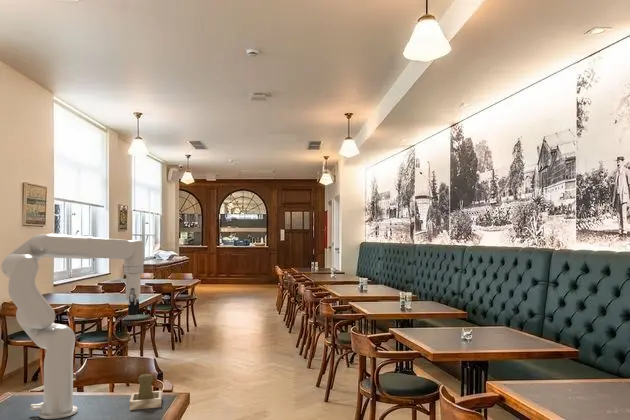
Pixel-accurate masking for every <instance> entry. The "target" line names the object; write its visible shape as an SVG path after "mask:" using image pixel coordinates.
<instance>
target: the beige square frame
mask: <svg viewBox="0 0 630 420" xmlns="http://www.w3.org/2000/svg"><path fill="white" fill-rule="evenodd" d="M152 392H153V399H144V400H138V395H139V392H134V393H131V396H130V400H129V410H130V411H133V410H135V411H136V410H145V409H155V408H162V403H163V402H162V401H163V394H162V393H163V391H162V390H155V391H153V390H152Z"/></svg>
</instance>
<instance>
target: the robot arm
mask: <svg viewBox="0 0 630 420" xmlns="http://www.w3.org/2000/svg"><path fill="white" fill-rule="evenodd" d="M42 258H53V259H56V258H57V259H74V260H75V259H76V260H77V259H80V260H91V259H92V260H93V259H110V260H123V275H124V276H126V277H125V278H126V279H125V297H124V298H125V300H127V301H128V305H127V309H128V310H127V311H128V312H127V313H128V316H137V314H138V312H140V296H141V285H142V284H141V275H144V242H143V241H142V240H140V239H133V240H132V239H131V240H127V239H118V238H104V237H103V238H102V237H94V236H84V235H74V234H73V235H69V234H59V233H57V234H56V233H40V234H36V235H34V236H32V237H31V238H29V239H28V240H26V241H25V242H24V243H22V244H21V245H20V246H19V247H17V248H15V249H14V250H13V251H12V252H10V253H9V254H8V255H7V256H5V258H3V260H2V262H1V264H0V265H1V266H0V269H1V272H2V274H3V275H5V276H6V277H8V285H7V289H8V290H7V291H8V292H7V293H8V295H9V298H10V300H11V301H12V302H13V304H14V305H15V307H16V308H17V309H16V311H15V317H16V321H17V323H18V324H19V326H20V327H21V329H23V331H24V332H25V333H26V335H27V336H28V337H29V338H30V339H31V340H32V342H33V343H34V344H35V345H36V346H37V347H39V348H41V349H42V350H43V349H44V350H45V351H46V352H45V356H44V359H43V361H44V362H43V402H40V403H31V404H30V409H29V410H30V411H32V412H36V411H39V412H38V417H39V418H41V419H44V420H56V419H62V418H63V419H64V418H68V417H70V416H72V415H75V414H76V413H77V412H78V409H79V408H78V407H77V406H76V405H74V351H75V344H76V334H75V332H74V331H73V329H72V328H71V327H70V326H68V325H65V324H61V323H55V321H56V312H55V310H54V308H53V307H52V306H51V304H50V303H49V302H48V301H47V300H46V298H45V297H44V296H43V295H42V293H41V292H40V289H38V287H37V285H36V278H37V275H38V271H39V267H40V266H39V265H40V264H39V261H40V260H42Z"/></svg>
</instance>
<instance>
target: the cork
mask: <svg viewBox="0 0 630 420" xmlns="http://www.w3.org/2000/svg"><path fill="white" fill-rule="evenodd" d="M153 379H154V378H153V375H152V374H151V373H144V374H140V375H139V376H138V379H137V381H138V383H139V388H138V389H139V390H138V393H139V395H138V400H144V399H153V386H152V383H153Z"/></svg>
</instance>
